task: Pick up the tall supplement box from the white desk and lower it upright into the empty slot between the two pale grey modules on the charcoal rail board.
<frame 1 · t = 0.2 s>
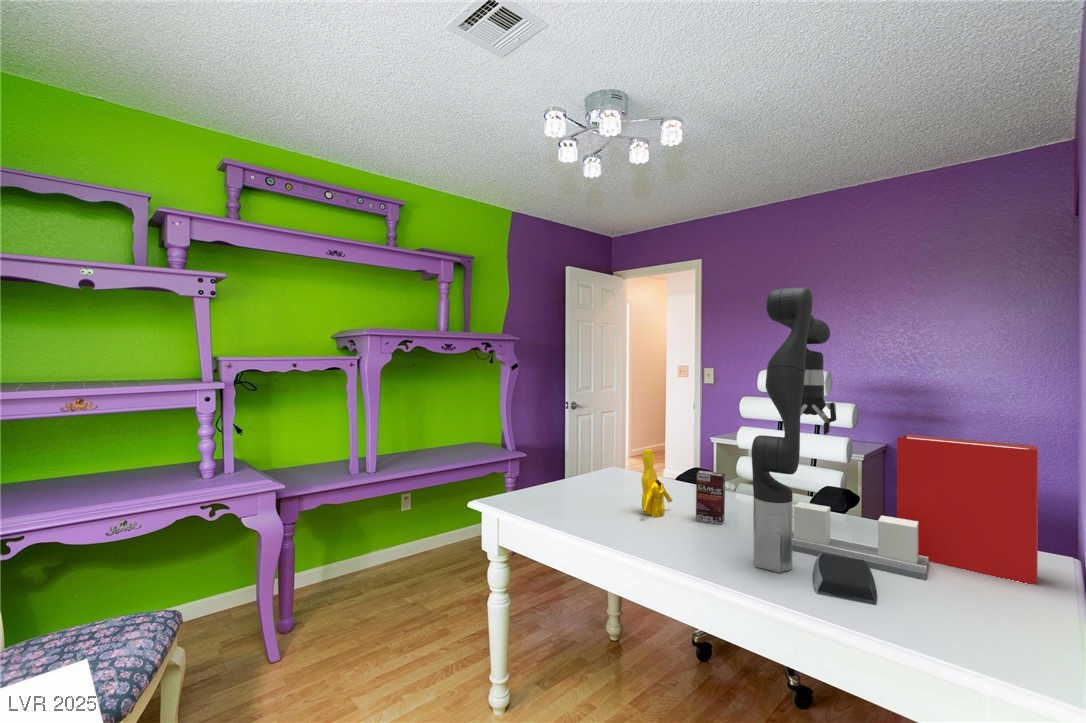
hand: (810, 433, 166), 29 cm above the table, tool pointing down, fingers open, 8 cm apart
book: (963, 565, 131), on the table
figure statuette: (653, 514, 174), on the table
rail board: (853, 556, 137), on the table
external hard drive: (843, 585, 121), on the table
supplement box: (710, 521, 166), on the table
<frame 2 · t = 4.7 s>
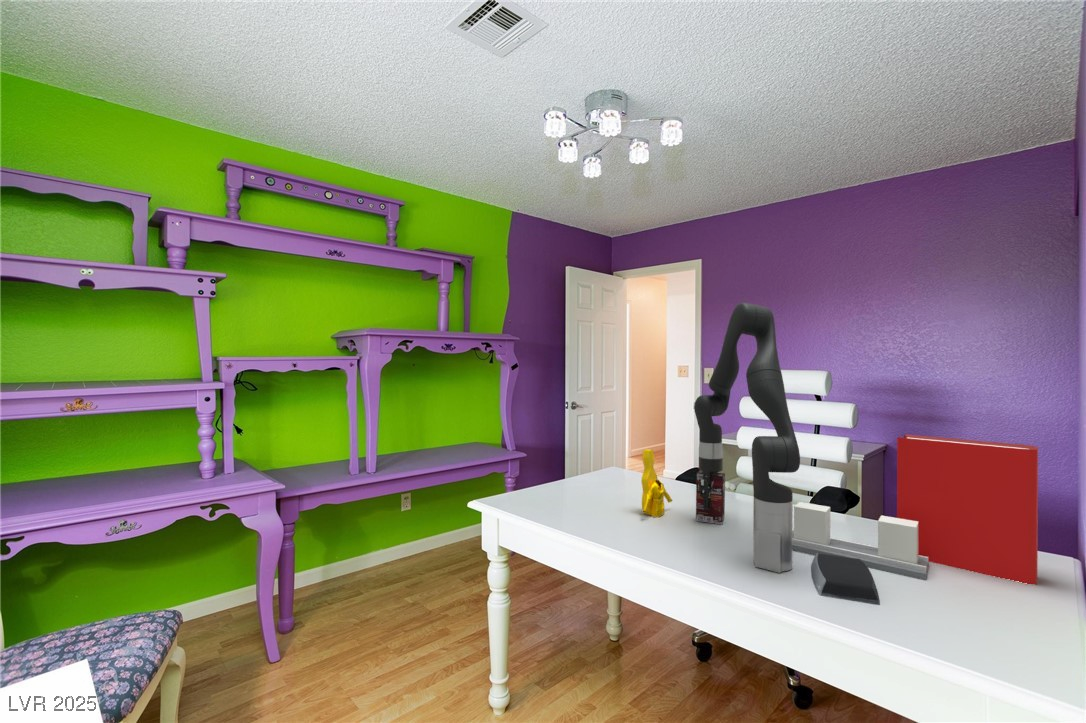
hand: (710, 506, 166), 5 cm above the table, tool pointing down, fingers closed on supplement box, 5 cm apart
supplement box: (710, 521, 166), on the table, touching gripper
when the fingers open (8 cm above the table, at t = 13.4 s): supplement box stays where it is, resting on rail board.
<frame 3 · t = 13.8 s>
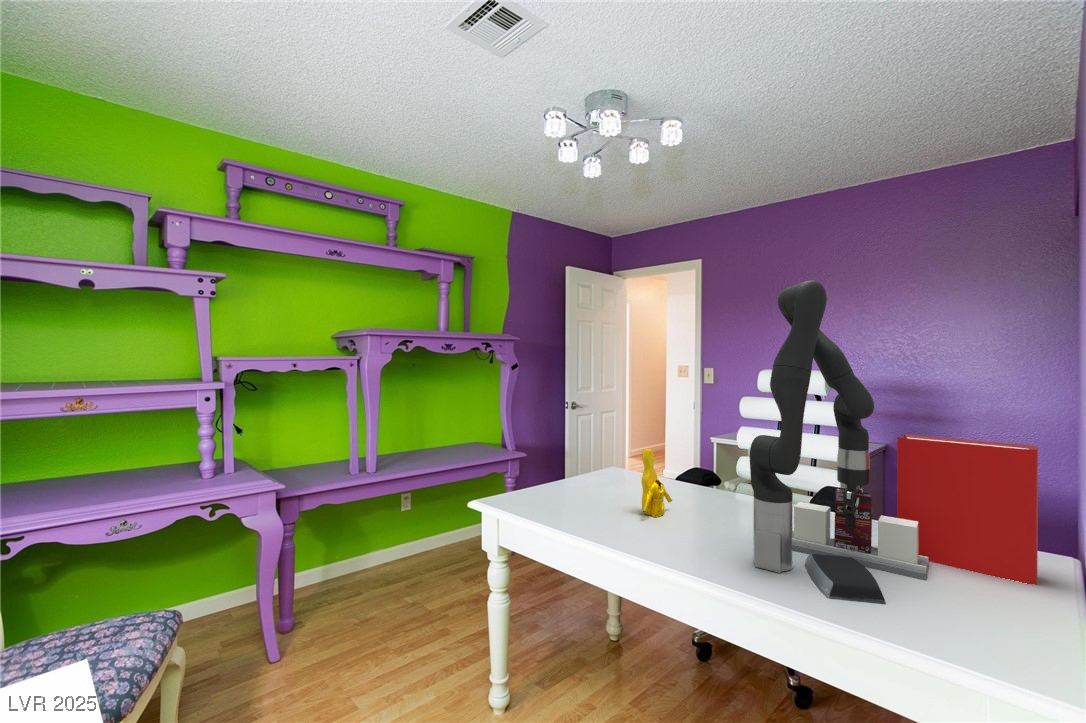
hand: (853, 525, 137), 8 cm above the table, tool pointing down, fingers open, 8 cm apart
supplement box: (852, 551, 137), point 1 cm above the table, touching rail board
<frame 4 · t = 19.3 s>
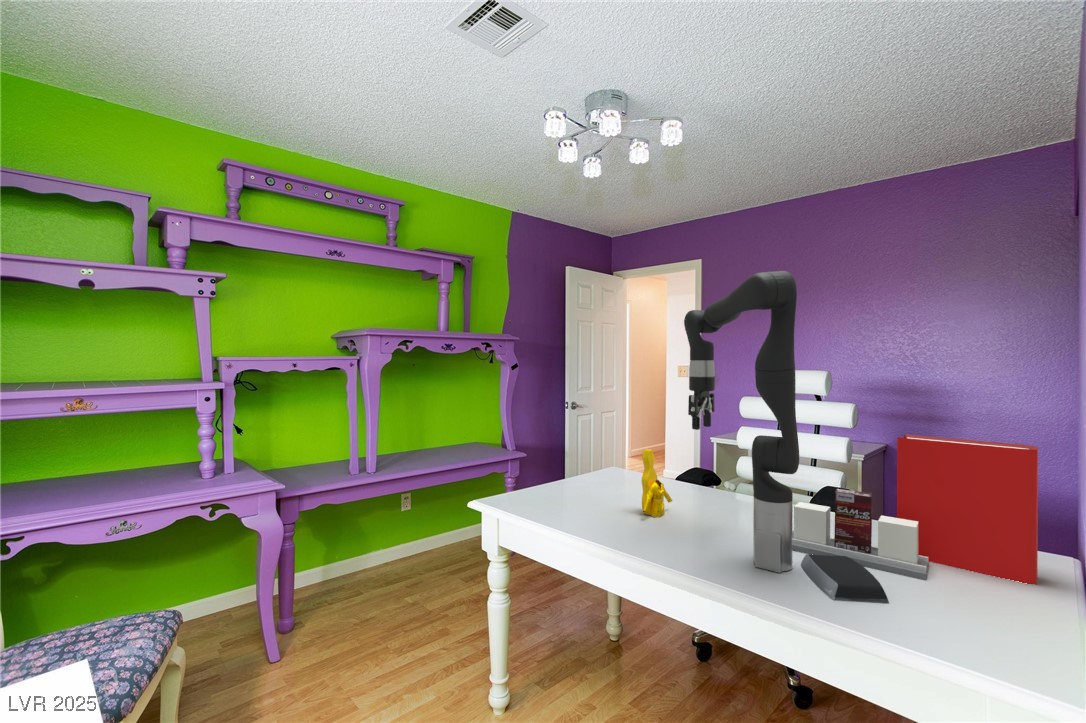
hand: (701, 428, 156), 32 cm above the table, tool pointing down, fingers open, 8 cm apart
at the end: supplement box 0.4 cm off-centre on the rail board, point 1.3 cm above the rail board's base; supplement box tilted 0°; the gripper is holding nothing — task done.
